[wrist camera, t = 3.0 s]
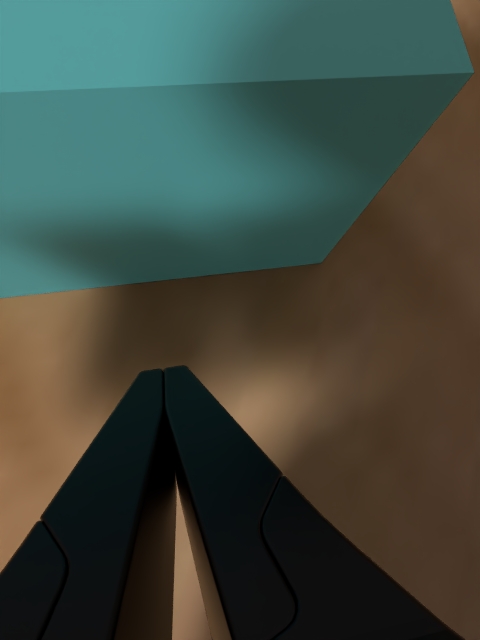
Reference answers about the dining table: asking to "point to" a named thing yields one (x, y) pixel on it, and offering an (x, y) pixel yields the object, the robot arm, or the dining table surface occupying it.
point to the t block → (205, 130)
